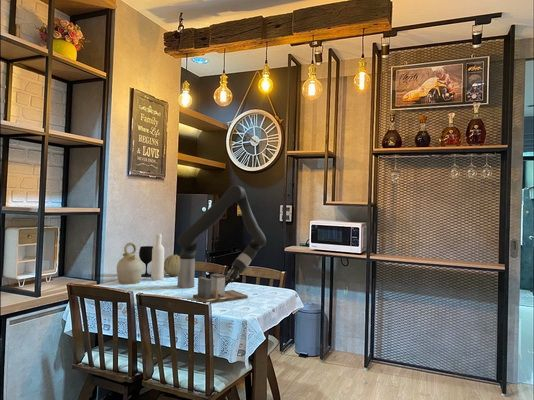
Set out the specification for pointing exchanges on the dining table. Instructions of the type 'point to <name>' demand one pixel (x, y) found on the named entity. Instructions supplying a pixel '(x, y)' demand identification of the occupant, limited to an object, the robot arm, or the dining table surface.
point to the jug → (129, 267)
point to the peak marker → (215, 293)
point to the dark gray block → (204, 288)
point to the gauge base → (223, 297)
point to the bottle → (158, 259)
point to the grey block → (218, 284)
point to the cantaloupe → (172, 265)
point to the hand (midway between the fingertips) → (222, 287)
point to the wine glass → (146, 257)
